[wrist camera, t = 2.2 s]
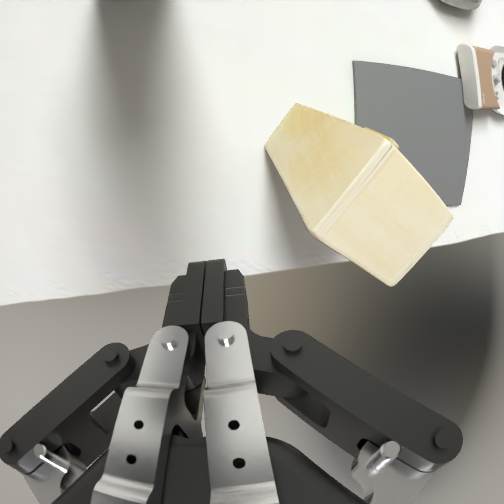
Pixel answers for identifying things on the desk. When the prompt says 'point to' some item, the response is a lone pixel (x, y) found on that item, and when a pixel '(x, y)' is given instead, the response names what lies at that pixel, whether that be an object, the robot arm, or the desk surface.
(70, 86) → the desk surface
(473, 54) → the record player
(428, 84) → the mat
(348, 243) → the toy refrigerator
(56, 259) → the desk surface
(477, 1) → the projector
